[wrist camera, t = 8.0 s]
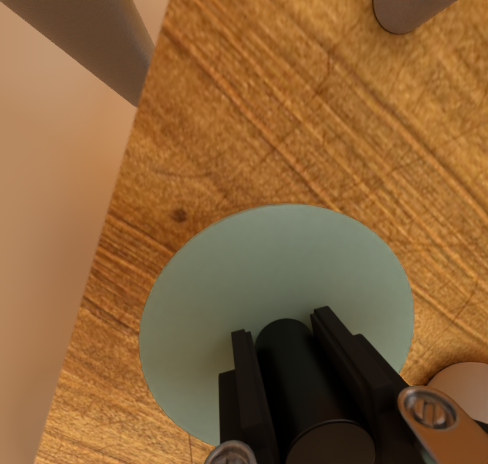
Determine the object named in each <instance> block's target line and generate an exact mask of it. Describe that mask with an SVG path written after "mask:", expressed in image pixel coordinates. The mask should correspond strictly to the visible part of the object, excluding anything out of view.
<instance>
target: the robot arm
mask: <svg viewBox="0 0 488 464" xmlns="http://www.w3.org/2000/svg"><path fill="white" fill-rule="evenodd" d="M310 318H311V324H312V329H313V334H314V338H315V339H316V341H317V343H318V344H319V346H320V348H321V349H322V351H323V353H324V354H325V356H326V358H327V359H328V361H329V363H330V364H331V366H332V368H333V369H334V371H335V373H336V374H337V376H338V378H339V379H340V381H341V383H342V384H343V386H344V388H345V389H346V391H347V393H348V394H349V396H350V397H351V399H352V401H353V402H354V404H355V406H356V407H357V409H358V411H359V412H360V414H361V416H362V417H363V419H364V421H365V422H366V424H367V426H368V427H369V429H370V431H371V432H372V434H373V436H374V439H375V442H376V457H375V461H374V463H373V464H488V424H487V423H484V422H481V421H478V420H475V419H472V418H471V417H470V416H469V415H468V414H467V413H466V412H465V411H464V410H463V409H462V408H461V407H460V406H459V405H458V404H457V403H456V402H455V401H454V400H453V399H452V398H451V397H449V396H448V395H447V394H445V393H443V392H441V391H439V390H437V389H434V388H431V387H428V386H420V385H417V386H409V385H408V384H407V383H406V382H405V381H404V380H403V379H402V377H401V376H400V375H399V374H398V373H397V372H396V371H395V370H394V369H393V367H392V366H391V365H390V364H389V363H388V362H387V361H386V360H385V359H384V358H383V356H382V355H381V354H380V353H379V352H378V351H377V350H376V349H375V348H374V346H373V345H372V344H371V343H370V342H369V341H368V340H367V339H366V338H365V336H363V335H362V334H360V333H359V334H356V335H352V333H351V332H350V331H349V330H348V329H347V327H346V326H345V325H344V324H343V323H342V321H341V320H340V319H339V318H338V317H337V316H336V314H335V313H334V312H333V311H332V310H331V308H330V307H329V306H324V307H320V308H316V309H314V313H313V314H310ZM231 338H232V348H233V357H234V366H235V369H233V370H230V371H226V372H223V373H219V375H218V386H219V427H220V445H218V446H217V447H216V448H215V449H214V450H213V451H211V453H210V454H209V456H208V457H207V458H206V460H205V462H204V464H281V456H280V452H279V447H278V443H277V439H276V435H275V430H274V426H273V422H272V417H271V413H270V409H269V405H268V400H267V396H266V392H265V388H264V383H263V379H262V375H261V371H260V366H259V362H258V358H257V354H256V350H255V346H254V342H253V339H252V335H251V331H248V332H245V329H241V330H237V331H234V332H231Z"/></svg>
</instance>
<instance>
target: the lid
mask: <svg viewBox="0 0 488 464" xmlns="http://www.w3.org/2000/svg"><path fill="white" fill-rule="evenodd" d="M324 306H329V307H330V308H331V310H332V311H333V312H334V313H335V314H336V316H337V317H338V318H339V319H340V320H341V321H342V323H343V324H344V325H345V326H346V327H347V329H348V330H349V331H350V332H351V333H352V335H356V334H359V333H360V334H362V335H363V336H365V338H366V339H367V340H368V341H369V342H370V343H371V344H372V345H373V346H374V348H375V349H376V350H377V351H378V352H379V353H380V354H381V355H382V356H383V358H384V359H385V360H386V361H387V362H388V363H389V364H390V365H391V366H392V367H393V369H394V370H395V371H396V372H397V373H398V374H399V373H400V371H401V369H402V367H403V365H404V363H405V360H406V358H407V355H408V352H409V349H410V345H411V340H412V336H413V328H414V302H413V297H412V292H411V287H410V284H409V282H408V279H407V276H406V273H405V271H404V269H403V267H402V266H401V264H400V262H399V260H398V258H397V257H396V255H395V254H394V253H393V251H392V250H391V249H390V248H389V246H388V245H387V244H386V243H385V242H384V241H383V240H382V239H381V238H380V237H379V236H378V235H377V234H376V233H375V232H373V231H372V230H371V229H369V228H368V227H366V226H365V225H363V224H362V223H360V222H359V221H357V220H355V219H353V218H351V217H349V216H346V215H344V214H342V213H339V212H336V211H333V210H330V209H327V208H324V207H320V206H314V205H308V204H300V203H278V204H267V205H261V206H257V207H252V208H248V209H244V210H241V211H239V212H236V213H233V214H231V215H228V216H226V217H224V218H222V219H220V220H218V221H216V222H214V223H212V224H210V225H208V226H207V227H206V228H204V229H203V230H201V231H200V232H198V233H197V234H196V235H194V236H193V237H191V238H190V239H189V240H188V241H187V242H186V243H185V244H184V245H183V246H182V247H181V248H180V249H178V250H177V251H176V253H175V254H174V255H173V256H172V258H171V259H170V260H169V261H168V262H167V264H166V265H165V266H164V268H163V269H162V271H161V273H160V274H159V276H158V278H157V279H156V281H155V283H154V285H153V287H152V289H151V291H150V293H149V296H148V298H147V300H146V303H145V306H144V310H143V314H142V317H141V321H140V330H139V356H140V361H141V366H142V371H143V374H144V377H145V380H146V383H147V385H148V388H149V390H150V392H151V393H152V395H153V397H154V399H155V400H156V402H157V403H158V405H159V406H160V407H161V409H162V410H163V411H164V412H165V414H166V415H167V416H168V417H169V418H170V419H171V420H172V421H173V422H174V423H175V424H176V425H178V426H179V427H180V428H182V429H183V430H184V431H186V432H187V433H189V434H190V435H192V436H194V437H196V438H197V439H199V440H201V441H203V442H205V443H208V444H210V445H213V446H215V447H217V446H218V445H220V427H219V386H218V375H219V373H223V372H226V371H230V370H233V369H235V366H234V357H233V348H232V338H231V332H234V331H237V330H241V329H245V332H248V331H251V335H252V339H253V342H254V346H255V350H256V354H257V358H258V362H259V366H260V371H261V375H262V379H263V383H264V388H265V392H266V396H267V400H268V405H269V409H270V413H271V417H272V422H273V426H274V430H275V435H276V439H277V443H278V447H279V452H280V456H281V464H373V463H374V461H375V457H376V442H375V439H374V436H373V434H372V432H371V431H370V429H369V427H368V426H367V424H366V422H365V421H364V419H363V417H362V416H361V414H360V412H359V411H358V409H357V407H356V406H355V404H354V402H353V401H352V399H351V397H350V396H349V394H348V393H347V391H346V389H345V388H344V386H343V384H342V383H341V381H340V379H339V378H338V376H337V374H336V373H335V371H334V369H333V368H332V366H331V364H330V363H329V361H328V359H327V358H326V356H325V354H324V353H323V351H322V349H321V348H320V346H319V344H318V343H317V341H316V339H315V338H314V334H313V329H312V324H311V318H310V314H313V313H314V309H316V308H320V307H324Z"/></svg>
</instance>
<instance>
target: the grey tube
mask: <svg viewBox="0 0 488 464" xmlns="http://www.w3.org/2000/svg"><path fill="white" fill-rule="evenodd" d="M455 1H457V0H373V4H374V11H375V14H376V17H377V19H378V21H379V22H380V24H381V25H382V26H383V27H384V28H385V29H386V30H388V31H389V32H392V33H395V34H404V33H408V32H410V31H412V30H414V29H415V28H417V27H419V26H420V25H422V24H423V23H425V22H426V21H428V20H429V19H430V18H432V17H433V16H435V15H436V14H438V13H439V12H441V11H442V10H444V9H445V8H446V7H448V6H449V5H451V4H452V3H454V2H455Z"/></svg>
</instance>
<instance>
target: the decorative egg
mask: <svg viewBox="0 0 488 464" xmlns="http://www.w3.org/2000/svg"><path fill="white" fill-rule="evenodd" d="M427 386H428V387H431V388H434V389H437V390H439V391H441V392H443V393H445V394H447V395H448V396H449V397H451V398H452V399H453V400H454V401H455V402H456V403H457V404H458V405H459V406H460V407H461V408H462V409H463V410H464V411H465V412H466V413H467V414H468V415H469V416H470V417H471V418H472V419H475V420H478V421H481V422H484V423H487V424H488V364H486V363H479V362H462V363H456V364H453V365H451V366H449V367H447V368H445V369H443V370H442V371H440V372H439V373H437V374H436V375H435V376H434V377H433V379H432V380H431V381H430V382H429V383H428V385H427Z"/></svg>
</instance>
